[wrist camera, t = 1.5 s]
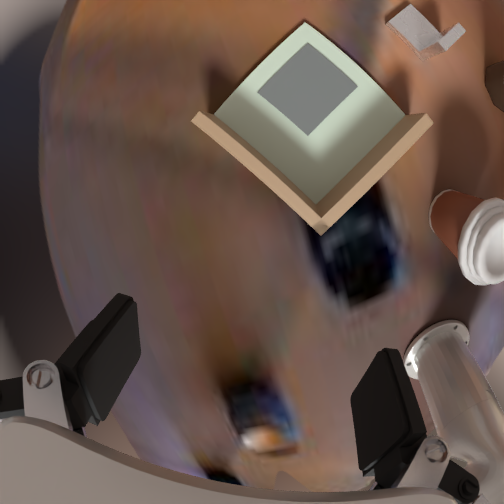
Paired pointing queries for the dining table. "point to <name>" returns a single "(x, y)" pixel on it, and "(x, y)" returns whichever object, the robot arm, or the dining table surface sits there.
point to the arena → (313, 127)
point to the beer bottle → (496, 84)
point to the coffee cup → (471, 233)
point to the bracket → (423, 33)
